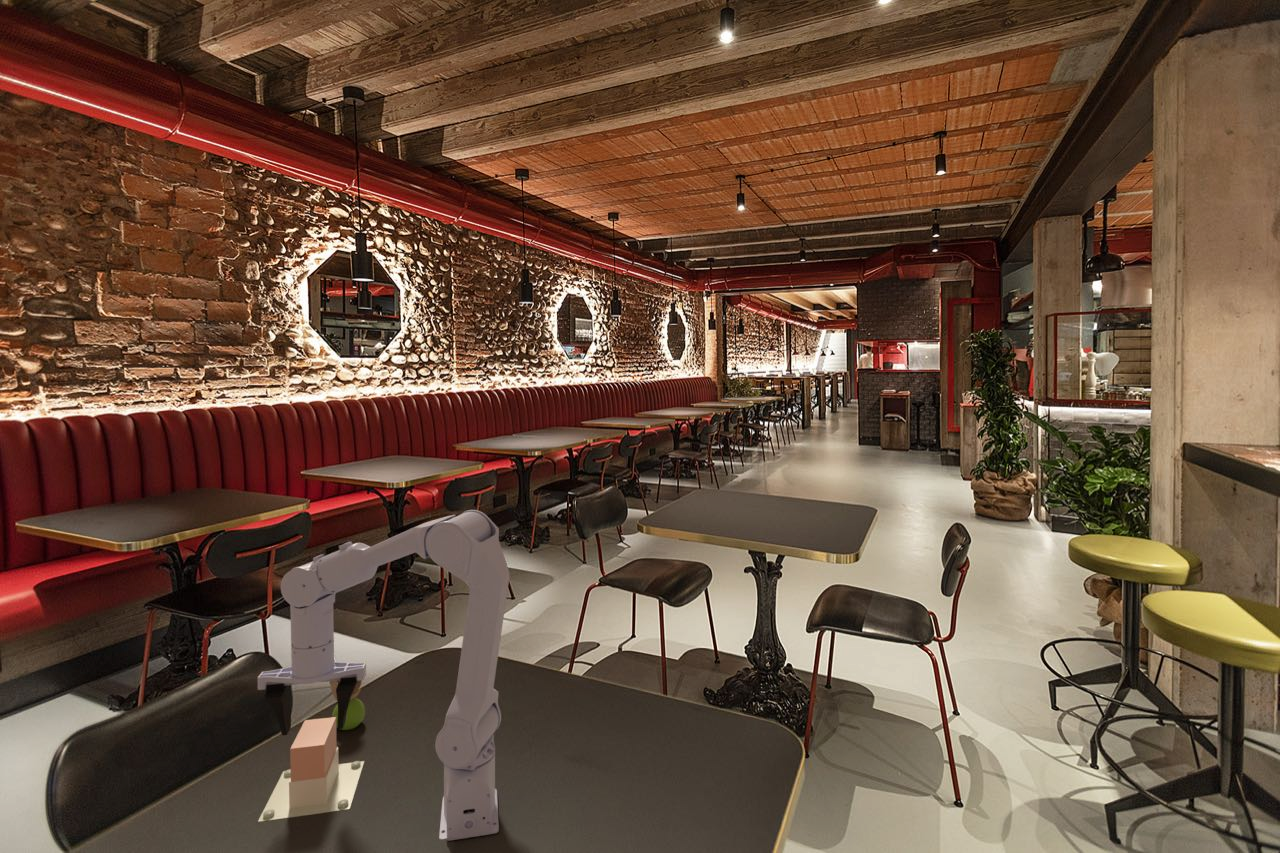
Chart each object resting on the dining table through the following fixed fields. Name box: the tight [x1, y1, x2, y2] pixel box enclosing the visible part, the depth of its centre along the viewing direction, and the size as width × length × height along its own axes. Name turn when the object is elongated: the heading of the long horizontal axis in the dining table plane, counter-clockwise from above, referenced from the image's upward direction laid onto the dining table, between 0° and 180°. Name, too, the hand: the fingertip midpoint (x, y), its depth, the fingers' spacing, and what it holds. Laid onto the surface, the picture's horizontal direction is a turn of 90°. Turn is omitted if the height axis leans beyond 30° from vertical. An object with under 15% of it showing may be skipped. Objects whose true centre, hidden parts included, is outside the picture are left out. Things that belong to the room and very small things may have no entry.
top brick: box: [289, 716, 338, 782], centre depth 95 cm, size 8×4×5 cm, turn 15°
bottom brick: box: [289, 746, 340, 809], centre depth 95 cm, size 8×5×4 cm, turn 14°
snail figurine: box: [328, 680, 366, 731], centre depth 113 cm, size 5×6×12 cm
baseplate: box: [257, 760, 365, 823], centre depth 95 cm, size 12×12×1 cm
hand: (314, 728), depth 95 cm, fingers open, 7 cm apart
